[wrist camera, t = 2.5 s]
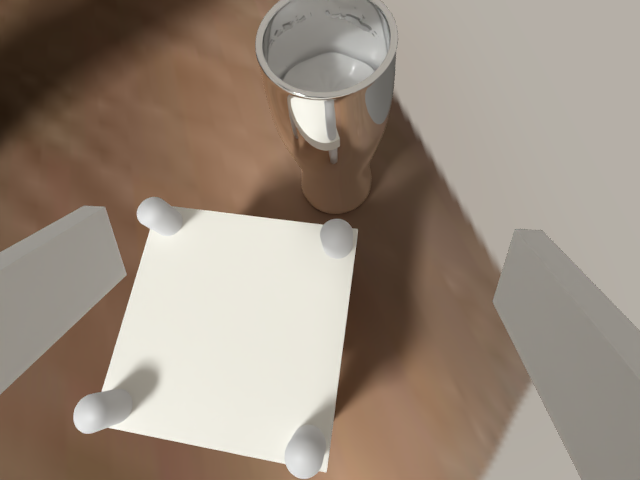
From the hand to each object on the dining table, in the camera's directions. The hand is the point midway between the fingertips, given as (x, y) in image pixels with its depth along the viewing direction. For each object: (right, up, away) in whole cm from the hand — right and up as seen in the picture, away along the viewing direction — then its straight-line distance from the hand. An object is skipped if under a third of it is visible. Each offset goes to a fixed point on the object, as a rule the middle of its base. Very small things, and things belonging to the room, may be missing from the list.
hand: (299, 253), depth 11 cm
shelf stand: (-4, -6, +16) cm, 17 cm away
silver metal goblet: (+2, +5, +19) cm, 20 cm away
